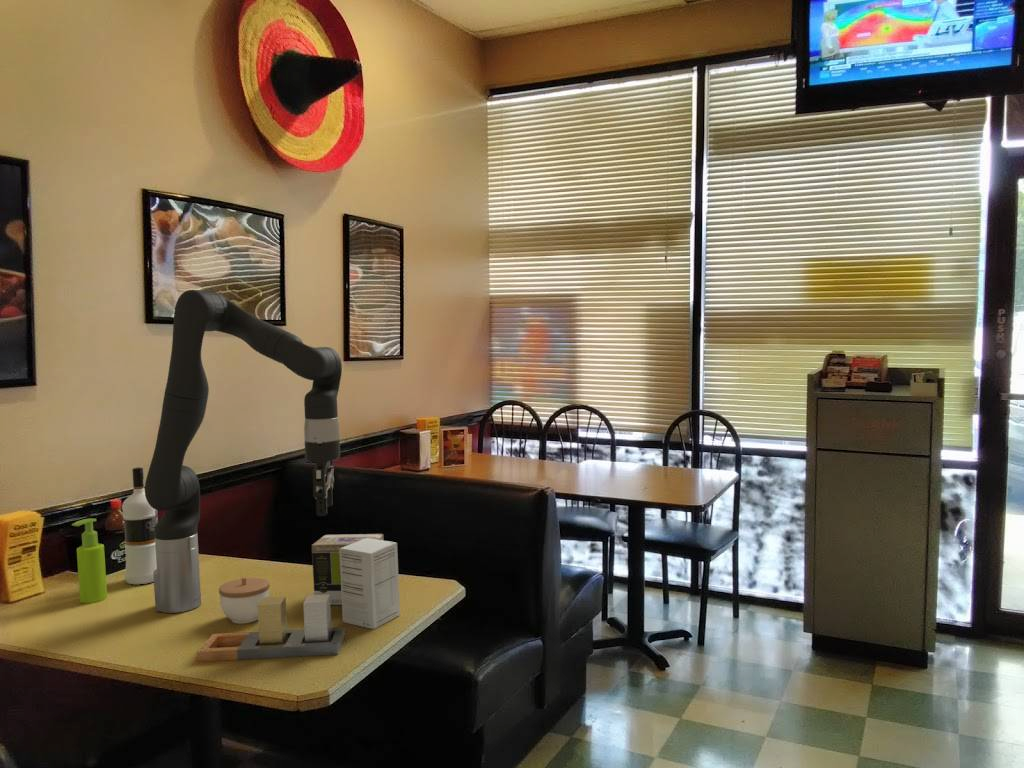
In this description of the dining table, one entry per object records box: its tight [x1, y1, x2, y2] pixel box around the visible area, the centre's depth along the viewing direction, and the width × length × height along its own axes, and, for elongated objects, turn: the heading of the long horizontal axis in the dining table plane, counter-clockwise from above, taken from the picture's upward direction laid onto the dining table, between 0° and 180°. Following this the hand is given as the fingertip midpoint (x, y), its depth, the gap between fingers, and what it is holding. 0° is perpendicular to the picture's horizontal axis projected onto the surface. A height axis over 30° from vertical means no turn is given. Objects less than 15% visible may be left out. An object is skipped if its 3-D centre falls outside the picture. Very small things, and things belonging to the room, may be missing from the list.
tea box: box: [311, 533, 385, 606], centre depth 184 cm, size 15×10×15 cm, turn 84°
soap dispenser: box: [71, 517, 108, 604], centre depth 188 cm, size 6×7×20 cm
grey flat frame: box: [197, 626, 346, 663], centre depth 156 cm, size 27×9×2 cm, turn 94°
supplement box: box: [339, 538, 401, 630], centre depth 171 cm, size 10×9×17 cm
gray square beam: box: [302, 594, 332, 643], centre depth 157 cm, size 4×4×10 cm
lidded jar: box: [218, 576, 270, 625], centre depth 173 cm, size 11×11×9 cm
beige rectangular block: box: [257, 596, 288, 646], centre depth 156 cm, size 4×4×10 cm
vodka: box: [121, 467, 159, 586], centre depth 202 cm, size 9×9×30 cm
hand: (324, 510), depth 170 cm, fingers open, 8 cm apart
